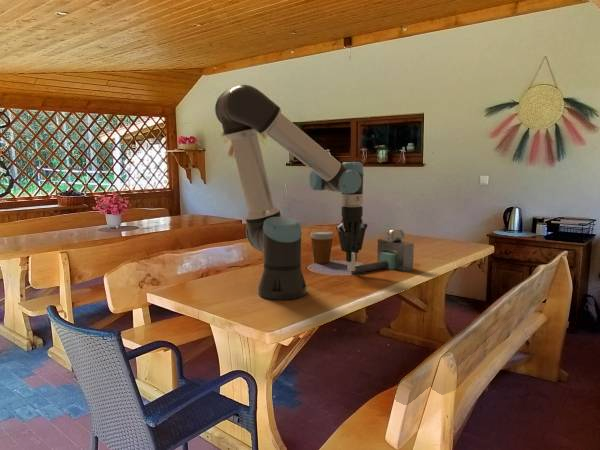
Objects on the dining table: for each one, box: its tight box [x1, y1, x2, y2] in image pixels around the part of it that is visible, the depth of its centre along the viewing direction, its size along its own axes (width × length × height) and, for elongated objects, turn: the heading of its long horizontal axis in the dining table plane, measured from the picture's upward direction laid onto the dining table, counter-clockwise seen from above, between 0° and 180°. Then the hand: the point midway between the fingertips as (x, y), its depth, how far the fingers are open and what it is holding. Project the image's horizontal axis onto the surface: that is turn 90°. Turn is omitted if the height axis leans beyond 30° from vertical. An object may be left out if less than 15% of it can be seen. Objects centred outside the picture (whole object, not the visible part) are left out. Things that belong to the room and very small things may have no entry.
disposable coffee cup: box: [309, 230, 335, 264], centre depth 197 cm, size 10×10×12 cm
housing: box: [376, 228, 415, 272], centre depth 189 cm, size 5×14×14 cm, turn 32°
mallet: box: [350, 250, 397, 274], centre depth 184 cm, size 22×6×6 cm, turn 122°
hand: (351, 270), depth 178 cm, fingers closed
